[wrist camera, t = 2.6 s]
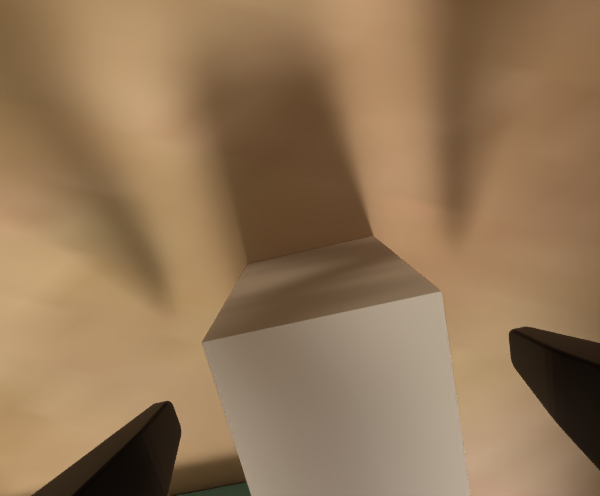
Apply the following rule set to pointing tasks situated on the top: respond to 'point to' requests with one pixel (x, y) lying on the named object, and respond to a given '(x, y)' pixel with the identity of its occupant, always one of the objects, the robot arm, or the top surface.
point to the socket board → (224, 491)
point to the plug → (339, 376)
